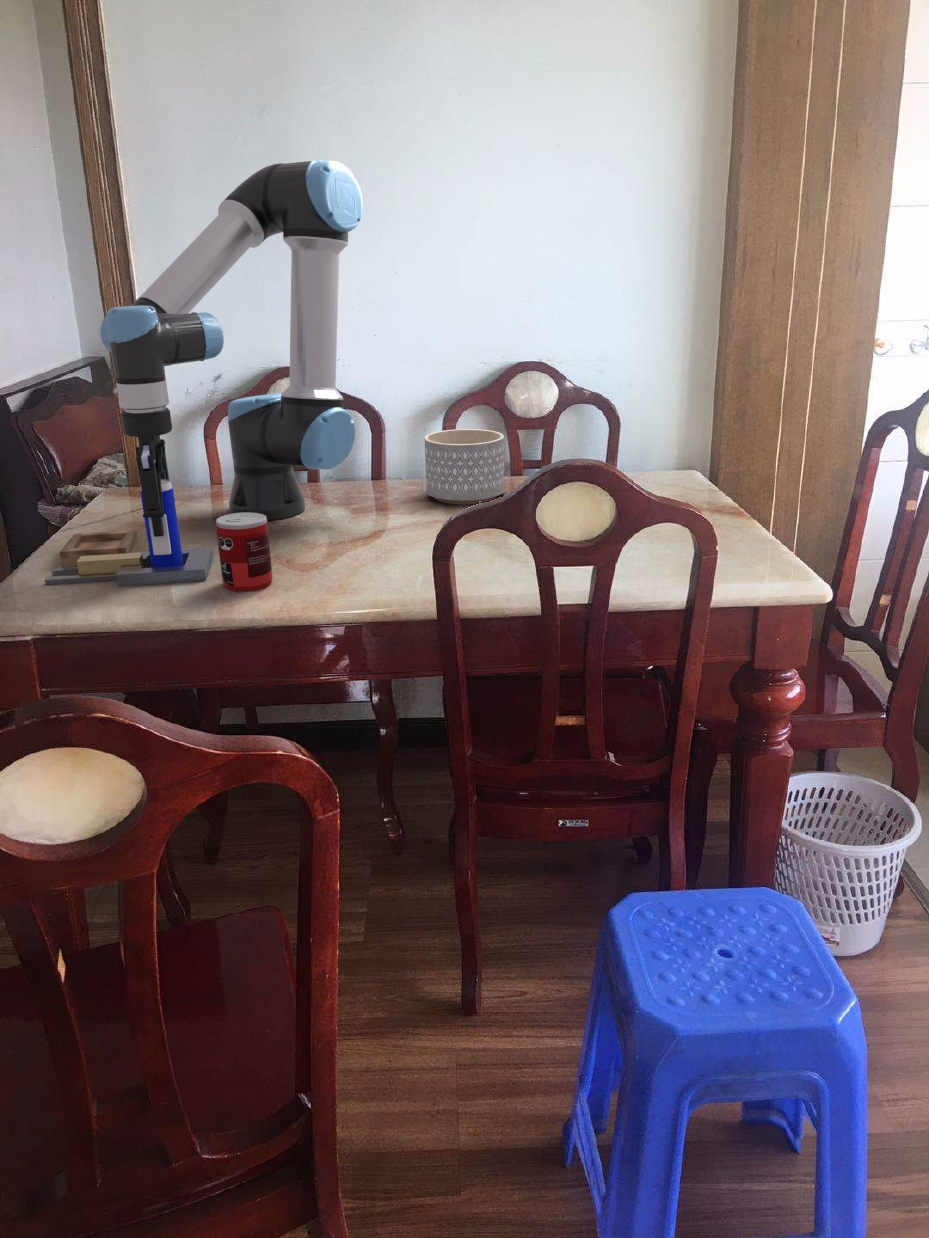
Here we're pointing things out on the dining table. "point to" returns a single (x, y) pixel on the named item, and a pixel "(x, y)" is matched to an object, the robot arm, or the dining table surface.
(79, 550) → the tray
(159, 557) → the beverage can
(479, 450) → the planter
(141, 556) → the bar
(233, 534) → the canned food
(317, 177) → the robot arm
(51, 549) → the dining table surface
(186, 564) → the socket plate
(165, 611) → the dining table surface
